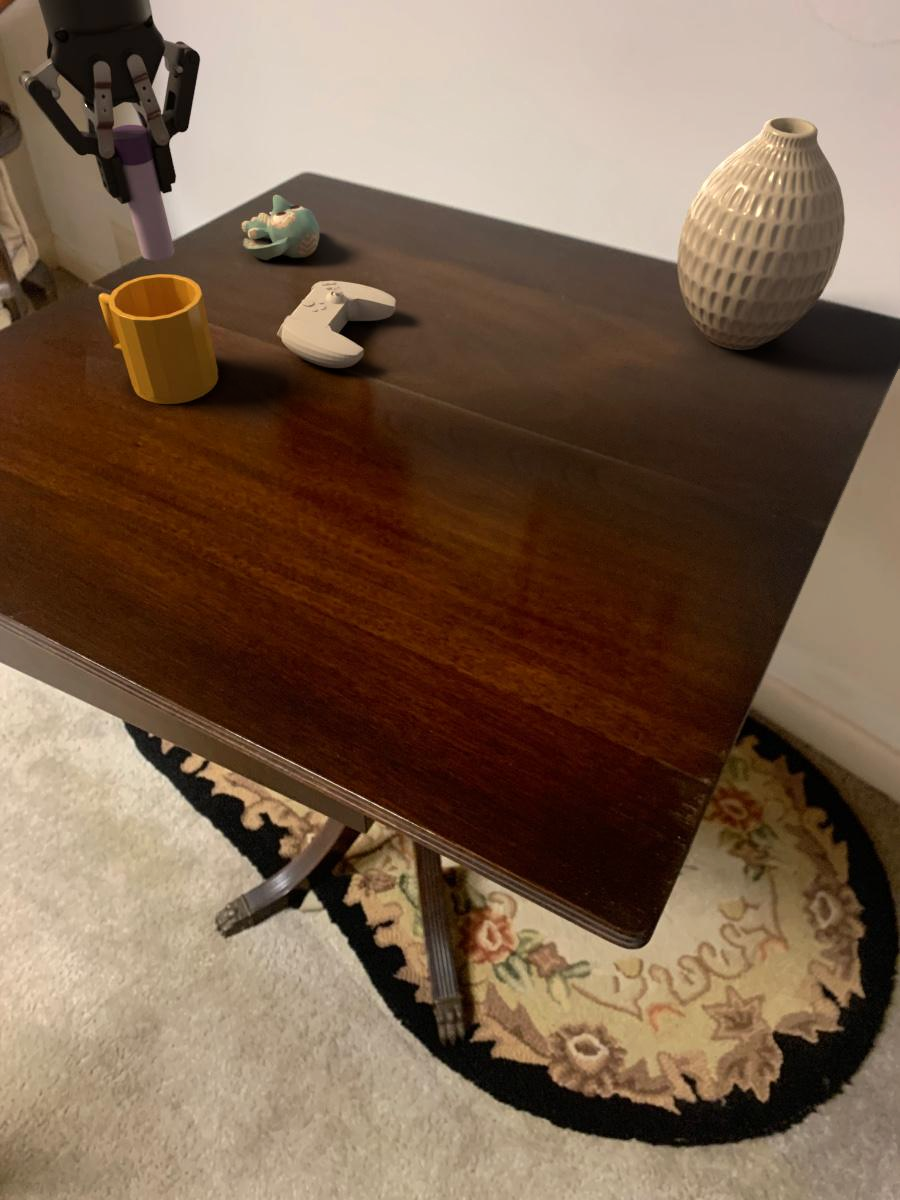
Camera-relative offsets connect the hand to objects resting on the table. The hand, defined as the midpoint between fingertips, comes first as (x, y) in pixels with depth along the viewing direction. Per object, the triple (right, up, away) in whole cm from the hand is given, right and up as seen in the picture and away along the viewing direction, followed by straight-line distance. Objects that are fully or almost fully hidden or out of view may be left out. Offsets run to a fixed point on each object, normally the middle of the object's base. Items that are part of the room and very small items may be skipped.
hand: (143, 193), depth 73 cm
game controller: (+13, -4, +26) cm, 29 cm away
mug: (-5, -10, +20) cm, 23 cm away
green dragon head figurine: (+4, +11, +40) cm, 42 cm away
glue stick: (0, -3, +4) cm, 5 cm away
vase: (+58, -3, +28) cm, 64 cm away
